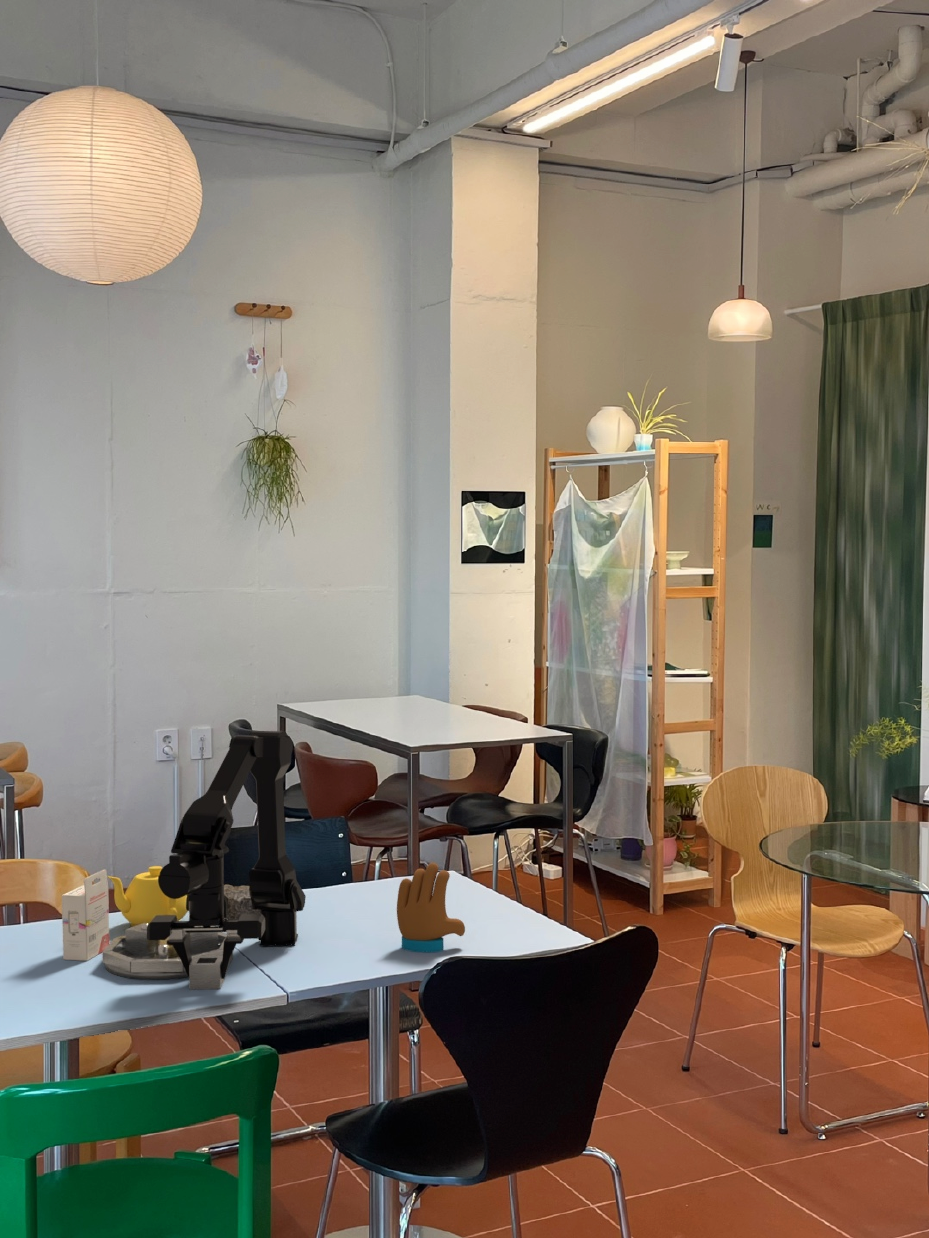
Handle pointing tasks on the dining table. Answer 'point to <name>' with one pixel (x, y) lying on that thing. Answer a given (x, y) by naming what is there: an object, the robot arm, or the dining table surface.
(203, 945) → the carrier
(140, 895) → the teapot
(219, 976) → the square pipe segment
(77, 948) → the ink cartridge box
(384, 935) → the dining table surface
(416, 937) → the toy
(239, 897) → the rock
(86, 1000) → the dining table surface
